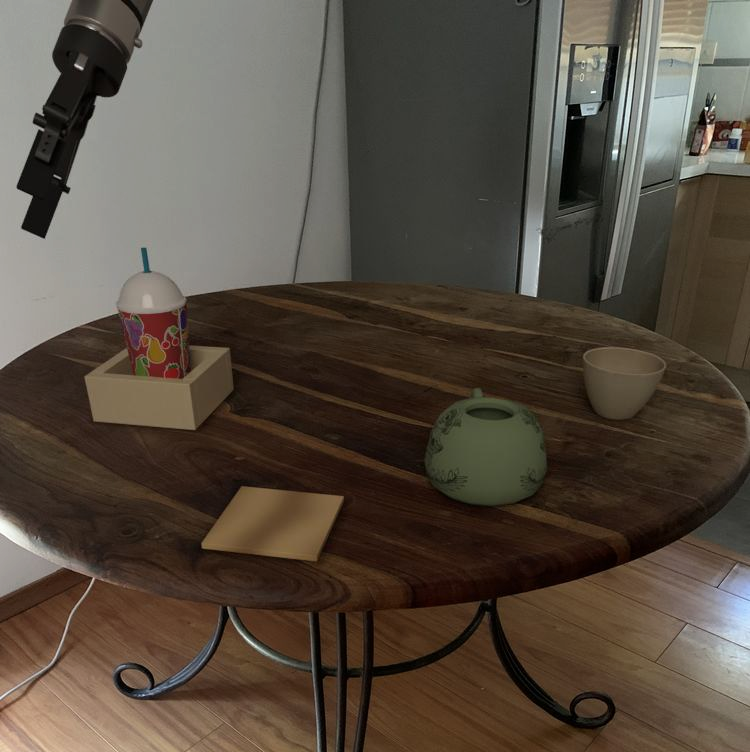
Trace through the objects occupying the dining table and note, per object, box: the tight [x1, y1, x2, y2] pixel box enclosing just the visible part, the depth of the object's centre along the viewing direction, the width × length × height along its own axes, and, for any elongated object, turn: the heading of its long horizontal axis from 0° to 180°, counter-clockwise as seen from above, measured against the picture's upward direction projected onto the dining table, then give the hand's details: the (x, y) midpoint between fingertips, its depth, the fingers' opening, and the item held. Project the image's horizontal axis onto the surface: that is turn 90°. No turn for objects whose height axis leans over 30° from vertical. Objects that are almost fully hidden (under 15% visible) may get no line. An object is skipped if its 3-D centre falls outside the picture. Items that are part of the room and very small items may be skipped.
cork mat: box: [201, 485, 345, 562], centre depth 72 cm, size 11×11×1 cm
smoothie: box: [115, 247, 191, 379], centre depth 92 cm, size 8×8×20 cm
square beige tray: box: [84, 344, 235, 431], centre depth 95 cm, size 14×14×6 cm
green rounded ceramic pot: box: [423, 387, 548, 508], centre depth 78 cm, size 16×13×9 cm
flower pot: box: [582, 346, 667, 421], centre depth 94 cm, size 10×10×7 cm
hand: (31, 215), depth 82 cm, fingers open, 13 cm apart
